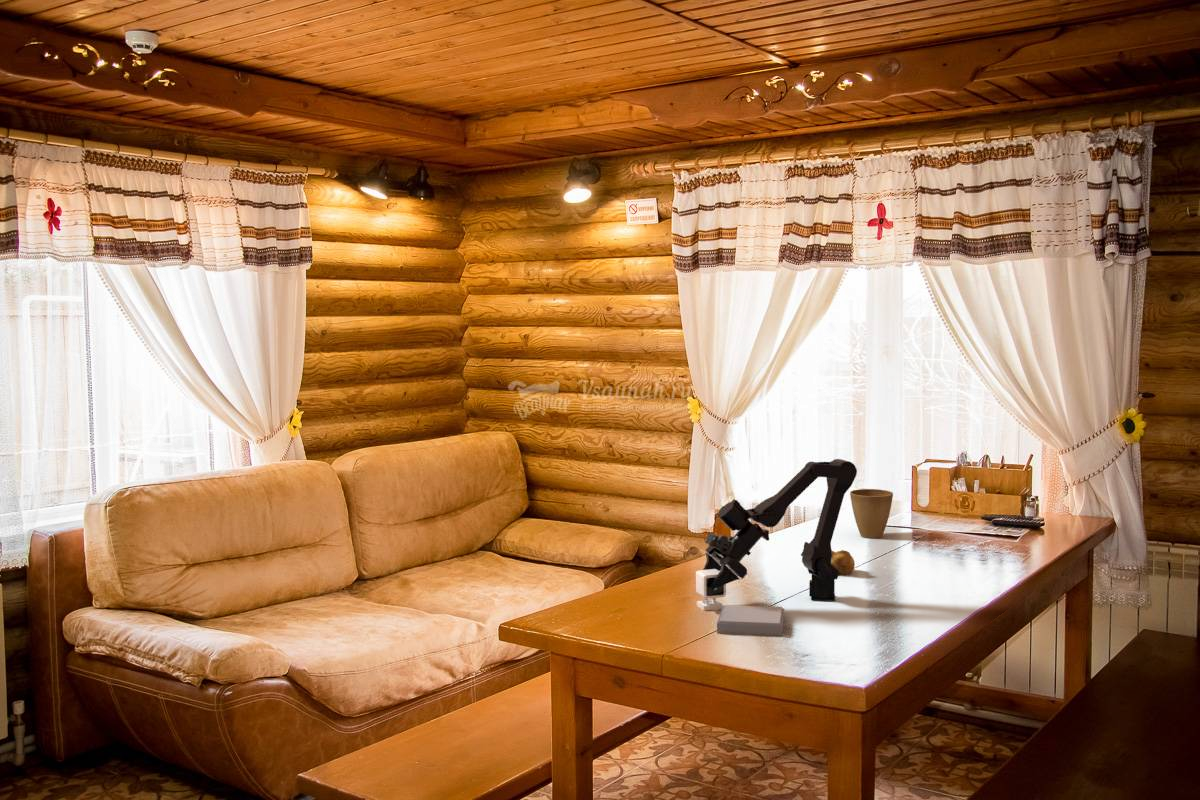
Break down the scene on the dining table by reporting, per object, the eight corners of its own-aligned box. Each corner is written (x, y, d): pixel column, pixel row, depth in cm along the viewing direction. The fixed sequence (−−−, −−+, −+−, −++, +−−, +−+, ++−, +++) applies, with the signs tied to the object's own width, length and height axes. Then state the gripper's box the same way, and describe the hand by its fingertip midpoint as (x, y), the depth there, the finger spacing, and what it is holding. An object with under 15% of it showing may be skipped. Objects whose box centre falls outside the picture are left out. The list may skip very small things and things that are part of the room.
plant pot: (841, 535, 378) (841, 491, 377) (874, 530, 384) (874, 487, 383) (868, 542, 365) (868, 496, 364) (902, 538, 371) (902, 493, 370)
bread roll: (807, 572, 324) (807, 546, 323) (822, 566, 332) (822, 541, 331) (846, 578, 316) (846, 551, 315) (860, 571, 324) (860, 546, 323)
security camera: (704, 612, 282) (703, 575, 281) (695, 605, 288) (694, 569, 288) (726, 610, 283) (725, 573, 283) (716, 603, 290) (716, 568, 289)
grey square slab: (784, 617, 275) (784, 606, 275) (781, 635, 259) (781, 623, 259) (722, 615, 278) (722, 604, 278) (717, 633, 263) (716, 621, 262)
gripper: (711, 516, 294) (674, 558, 292) (735, 528, 276) (695, 573, 274) (738, 542, 296) (702, 583, 295) (763, 556, 278) (724, 600, 277)
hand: (705, 584), depth 285 cm, fingers open, 9 cm apart
